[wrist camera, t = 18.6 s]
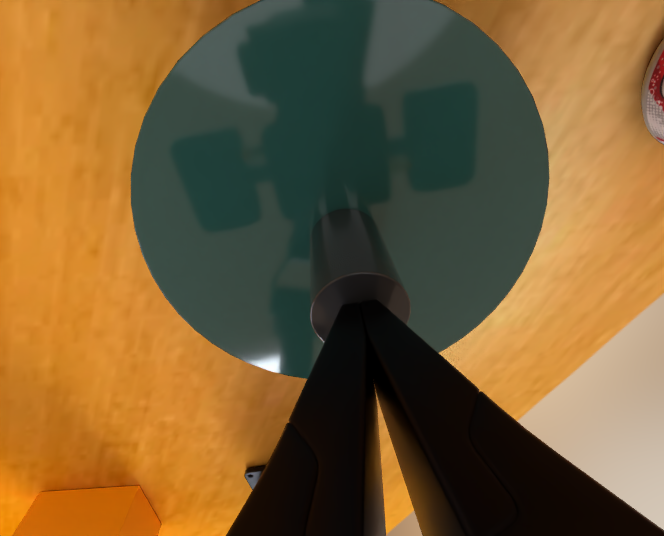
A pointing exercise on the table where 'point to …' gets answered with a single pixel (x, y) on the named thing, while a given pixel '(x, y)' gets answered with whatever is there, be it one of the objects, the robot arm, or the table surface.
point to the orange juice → (90, 513)
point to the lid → (338, 175)
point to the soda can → (654, 95)
